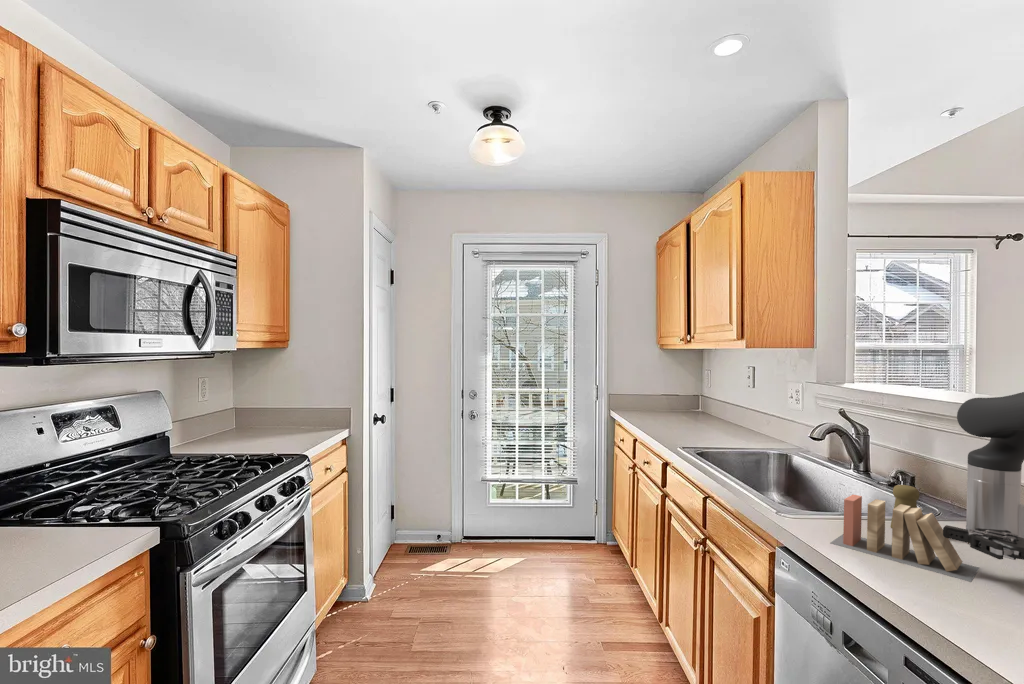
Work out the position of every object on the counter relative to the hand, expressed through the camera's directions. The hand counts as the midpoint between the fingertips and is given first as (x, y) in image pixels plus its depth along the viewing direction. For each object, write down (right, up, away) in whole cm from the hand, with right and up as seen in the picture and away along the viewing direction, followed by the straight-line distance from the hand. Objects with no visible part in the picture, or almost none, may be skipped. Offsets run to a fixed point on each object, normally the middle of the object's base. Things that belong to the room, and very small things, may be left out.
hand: (943, 530), depth 106 cm
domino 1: (-11, -7, +12) cm, 18 cm away
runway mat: (-5, -7, +5) cm, 10 cm away
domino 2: (-8, -7, +9) cm, 14 cm away
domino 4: (-2, -7, +2) cm, 7 cm away
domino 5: (+1, -7, -1) cm, 7 cm away
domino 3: (-5, -7, +5) cm, 10 cm away
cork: (+8, -8, +21) cm, 24 cm away
